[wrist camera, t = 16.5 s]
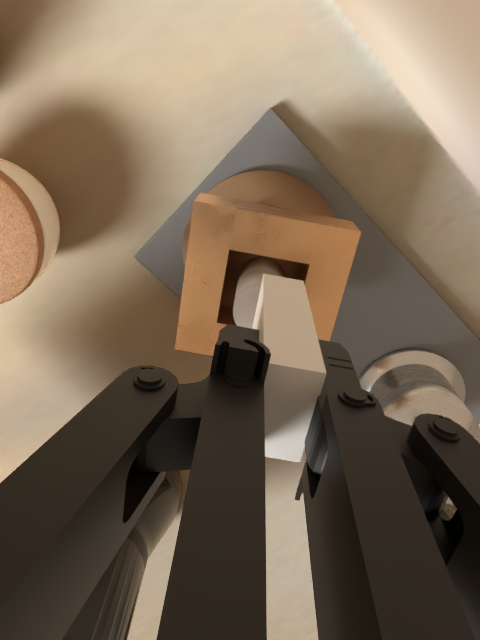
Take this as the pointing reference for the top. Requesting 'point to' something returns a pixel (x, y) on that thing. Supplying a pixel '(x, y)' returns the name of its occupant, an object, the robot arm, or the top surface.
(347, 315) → the rubber mat
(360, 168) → the top surface
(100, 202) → the top surface
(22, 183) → the lidded jar
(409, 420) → the pale stepped hub
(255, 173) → the walnut hub
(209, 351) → the wooden square ring
